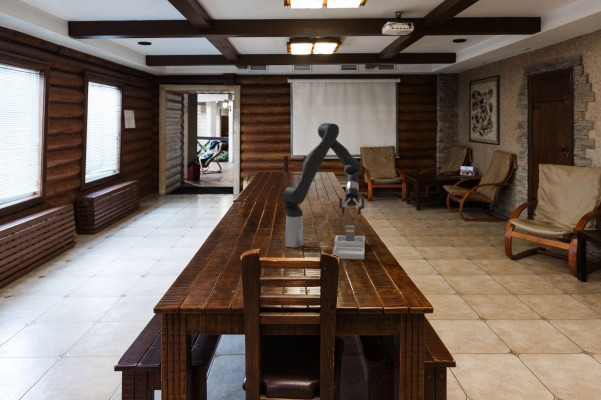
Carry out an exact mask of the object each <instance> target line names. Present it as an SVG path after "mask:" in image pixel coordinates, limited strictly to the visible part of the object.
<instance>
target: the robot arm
mask: <svg viewBox="0 0 601 400" xmlns="http://www.w3.org/2000/svg"><path fill="white" fill-rule="evenodd" d="M317 133H318V136H319V137H320V138H321V141H320V143H319V144H318V145H316V146H314V148H313V149H312V150H311V151H310V152H309V153H308V154H307V156H306V157H305V160H304V161H303V164H302V167H301V177H300V180H299V182H298V184H297V185H296V186H288V187H286V188H285V190H284V194H283V205H284V206H283V207H284V212H285V222H286V223H285V228H286V229H285V233H284V234H285V247H287V248H288V247H289V248H301V247H303V246H304V245H303V243H304V242H303V241H304V239H303V238H304V237H303V235H304V233H303V232H304V231H303V229H304V227H303V226H304V222H303V220H304V219H303V215H304V214H303V210H302V209H301V208H300V206H299V205H301V204H302V203H303V202H304V201H305V199H306V198H307V196H308V193H309V190H310V188H311V186H312V183H313V181H314V179H315V177H316V175H317V173H318V171H319V169H320V168H321V166H322V164H323V162H324V159H325V158H326V156H327V155H328V152H329V151H330V149H331V150H332V151H333V153H334V154H335V156H336V157H337V158H338V159H339V161H340V163H341V164H342V165H344V168H343V170H344V173H345V178H346V185H345V198H343V197H340V199H339V204H338V205H339V206H338V207H339V209H341V214H342V215H343V216H344V215H345V213H346V212H345V211H346V208H347V207H356V208H357V210H358V211H357V213H358V214H357V215H358V216H360V215H361V214H362V209H363V210H364V209H365V198H364V197H361V198H359V195H360V194H359V191H360V190H359V189H360V188H359V187H360V186H359V176H358V174H360V173H362V171H363V167H362V164H361V163H360V162H359V161H358V160H357V159H356V158H354V156H352V155H351V153H350V152H349V149H347V148H346V146H344V145H343V144H342V143H340V141H338V140H337V138H338V136H339V134H340V127H339V125H338V124H336V123H332V122H331V123H328V122H324V123H321V124H320V125H318V128H317ZM343 203H344V204H343ZM360 203H361V205H360Z"/></svg>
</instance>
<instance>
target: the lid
mask: <svg viewBox="0 0 601 400" xmlns="http://www.w3.org/2000/svg"><path fill="white" fill-rule="evenodd" d="M333 255H336V256H338V257H339V258H338V259H339V260H340V259H343V260H344V259H345V260H347V259H348V260H365V248H364V247H335V246H334V247H333V249H332V256H333Z"/></svg>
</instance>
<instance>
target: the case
mask: <svg viewBox="0 0 601 400" xmlns="http://www.w3.org/2000/svg"><path fill="white" fill-rule="evenodd" d="M365 237H366V236H365V235H354V241H346V235H335V238H334V247H364V249H365V240H366V239H365Z"/></svg>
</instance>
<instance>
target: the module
mask: <svg viewBox="0 0 601 400" xmlns="http://www.w3.org/2000/svg"><path fill="white" fill-rule="evenodd" d="M345 236H346V241H354V236H355V225H353V224H352V225H351V224H349V225H347V224H346V225H345Z"/></svg>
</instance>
